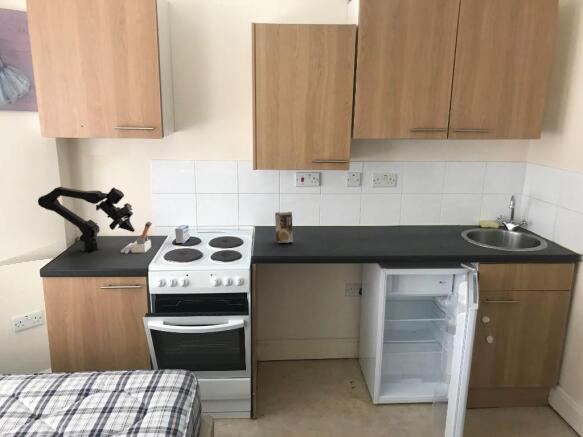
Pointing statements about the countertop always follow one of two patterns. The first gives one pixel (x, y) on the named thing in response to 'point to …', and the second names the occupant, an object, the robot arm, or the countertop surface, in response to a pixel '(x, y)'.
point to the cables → (126, 249)
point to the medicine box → (182, 234)
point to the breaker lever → (146, 230)
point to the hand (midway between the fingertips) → (134, 231)
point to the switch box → (141, 244)
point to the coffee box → (284, 227)
